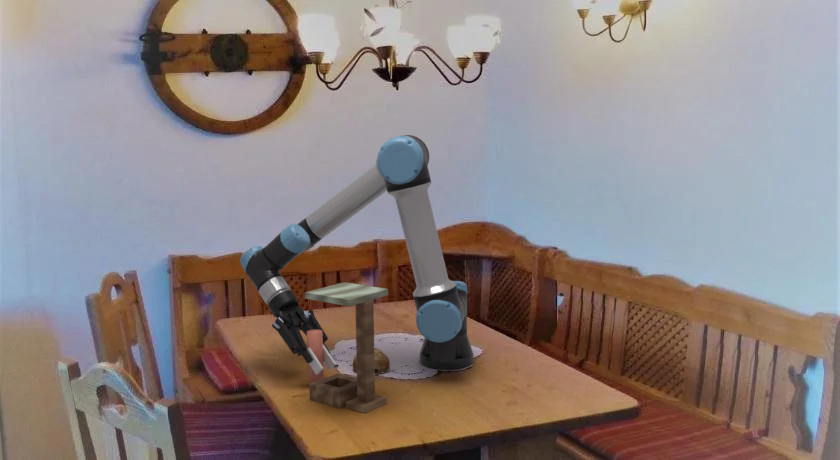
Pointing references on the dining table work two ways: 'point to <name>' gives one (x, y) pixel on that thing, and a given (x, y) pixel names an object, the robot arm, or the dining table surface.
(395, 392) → the dining table surface
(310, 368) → the peg
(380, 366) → the bread roll
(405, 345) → the dining table surface
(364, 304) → the awning socket
